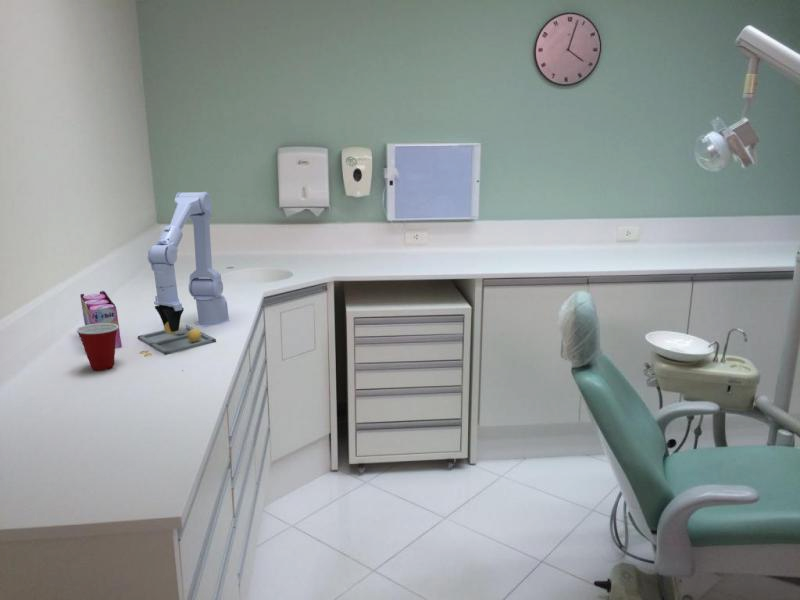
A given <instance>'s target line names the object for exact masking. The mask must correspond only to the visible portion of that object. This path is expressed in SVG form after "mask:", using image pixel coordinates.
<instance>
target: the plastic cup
mask: <svg viewBox="0 0 800 600" xmlns="http://www.w3.org/2000/svg"><path fill="white" fill-rule="evenodd" d="M118 328H119V329H120V325H119V326H118V325H116V324H110V323H100V324H90V325H85V324H84V325H82V326H79V327H77V328H76V333H77V334H78V335H79V338H80V340H81V342H82V346H83V349H84V351H85V355H86V357H87V360H88V361H89V364H90V367H91V368H90V369H92V371H96V372H100V371H101V372H103V371H106V370H107V369H108V370H110V369H112V368H113V366H114V365H115V356H116V348H115V339H116V333H117V329H118Z"/></svg>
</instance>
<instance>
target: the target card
mask: <svg viewBox="0 0 800 600" xmlns="http://www.w3.org/2000/svg"><path fill="white" fill-rule="evenodd" d="M139 354H144V355H143V356H144V357H151V356H153V355H154V354H153V353H149V351H148V350H142V351H139Z"/></svg>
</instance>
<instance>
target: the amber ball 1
mask: <svg viewBox="0 0 800 600" xmlns="http://www.w3.org/2000/svg"><path fill="white" fill-rule="evenodd" d="M163 330H165V331H166V333H168V334H174V333H176V332H177V331H175V332H171V330H170V327H169V323H168V322H167V323H166V324H165V326H164V325H163Z"/></svg>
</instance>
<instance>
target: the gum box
mask: <svg viewBox="0 0 800 600" xmlns="http://www.w3.org/2000/svg"><path fill="white" fill-rule="evenodd" d="M80 303H81V310H82V316H83V322H84V326H85V325H90V324H100V323H110V324H116V325H118V326H119V328H118V329H117V333H116V339H115V349H120V348H122V347H123V346H122V338H121V332H120V331H121V330H120V324H119V319H118V318H119V316H118V310H117V306H116V305H115V303H114V302H113V301H112V300H111V298H110V297H109V295H108V294H107V292H106V291H105V290H100V291H99V293H90V294H84V293H80Z"/></svg>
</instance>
